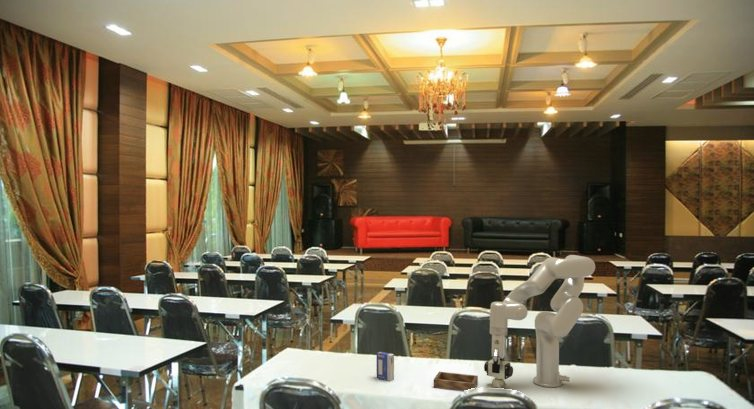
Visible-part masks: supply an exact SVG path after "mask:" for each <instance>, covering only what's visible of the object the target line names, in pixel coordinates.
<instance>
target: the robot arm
mask: <svg viewBox="0 0 754 409" xmlns="http://www.w3.org/2000/svg"><path fill="white" fill-rule="evenodd" d="M595 269H596V264H595V261H594V260H593V259H592V258H590V257H588V256H583V255H582V256H581V255H576V254H568V255H567V256H566V257H565V258H559V257H554V256H551V257H547V258H546V259H545V260H544V261H542V263H541V264H540V265H539V266H538V267H537V269H535V271H534V272H533V274H532V275H531V276H530V277H529V278H528V279H527V280H526V281H524V282H522V283H520V284H519V285H518V286H516V287H515V288H513V289H512V290H511V291H510V292H509V294H508V295H507V296H506V297H505V298H504V299H503V301H493V302H491V303H490V311H489V313H490V315H489V334H490V335H491V357H492V359H493V363H492V373H498V374H499V373H500V364H499V361H500V360H501V361H503V359H504V357H505V356H506V336H508V323H509V320H514V321H523V320H524V319H526V318H527V316H528V313H529V312H528V307H526V305H525V304H523V302H525V301H526V300H528V299H529V298H531V297H535V296H539V295H541V294H543V293H545V292H546V290H547V289H548V288H549V287H550V286H551V285H552V283H553V282H554V281H555V280H556V279H563V280H564V281H563V283H562V284H561V286H560V287H559V289H558V290H557V291H556V292H555V294H554V295H553V297H552V298H551V299H550V308H551V310H553V311H554V312H555V313H554V312H551V311H547V310H544V311H540V312H538V313H537V314H536V315H535V318H534V329H535V337H536V349H535V350H536V358H535V359H536V368H535V369H536V371H535V372H536V373H535V374H536V376H534V377H532V382H533V383H534V384H535V385H538V386H540V387H545V388H558V387H562V385H563V382H567V383H569V382H570V380H571V378H570V376H567V375H562V374H560V341H559V339H562V338H565V337H566V336H567V335H568V334H569V333H570V332H571V330H572V329H573V327H574V326H575V325H576V323H577V322H578V320H579V319H580V318H581V315H582V314H583V311H584V303H583V301H582V300H581V298H579V296H580V294H581V293H582V292H583V289H584V285H585V280H584V278H586V277H589V276H591V275H592V274H594V272H595V271H596V270H595Z"/></svg>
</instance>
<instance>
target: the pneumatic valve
mask: <svg viewBox="0 0 754 409" xmlns="http://www.w3.org/2000/svg"><path fill="white" fill-rule="evenodd" d="M492 363H493V358H491V359H489V360H487V361H485V363H484V365H483V369H484V372H486V376H488V377H492V378H493V379H492V380H491V384H492V387H493V388H496V387H499V388H498V389H502V388H505V386H506V381H505V380H508V379H509V378H511V377H513V375H514V368H513V366H512V365H511V362H509V361H505V360H502V361H501V360H500V361H499V364H500V373H499V374H498V373H492Z"/></svg>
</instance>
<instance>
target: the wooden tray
mask: <svg viewBox="0 0 754 409" xmlns="http://www.w3.org/2000/svg"><path fill="white" fill-rule="evenodd" d="M478 379H479V378H478V375H476V374H465V373H456V372H455V373H454V372H448V371H447V372H446V371H438V373H437V375H435V377H434V378H433V388H435V389H443V390H451V391H452V390H453V391H459V392H460V391H461V392H465V391H464V390H468V389H471V388H475V387H476V388H477V386H478V383H479V380H478ZM476 388H475V389H476Z"/></svg>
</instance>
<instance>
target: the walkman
mask: <svg viewBox="0 0 754 409" xmlns="http://www.w3.org/2000/svg"><path fill="white" fill-rule="evenodd" d="M376 379H379V380H382V381H388V382H393V381H394V380H395V354H393V353H390V352H389V353H388V352H384V351H378V352H376Z"/></svg>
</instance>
